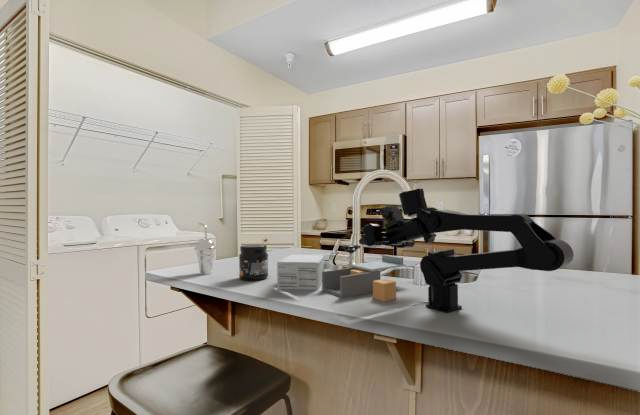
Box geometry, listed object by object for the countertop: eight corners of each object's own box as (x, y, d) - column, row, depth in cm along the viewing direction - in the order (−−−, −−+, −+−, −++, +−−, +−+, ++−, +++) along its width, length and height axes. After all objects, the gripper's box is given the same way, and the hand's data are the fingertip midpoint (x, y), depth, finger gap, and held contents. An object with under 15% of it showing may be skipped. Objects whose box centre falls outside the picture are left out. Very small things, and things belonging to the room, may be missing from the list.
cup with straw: (194, 276, 127) (193, 223, 127) (194, 272, 136) (194, 222, 136) (217, 274, 130) (216, 223, 130) (216, 270, 139) (216, 222, 139)
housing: (380, 292, 101) (380, 271, 101) (342, 300, 93) (342, 277, 93) (359, 286, 109) (358, 266, 109) (322, 292, 101) (322, 271, 101)
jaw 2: (396, 301, 91) (395, 281, 91) (384, 304, 89) (384, 283, 89) (384, 298, 95) (384, 278, 95) (373, 300, 93) (372, 280, 93)
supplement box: (318, 293, 102) (318, 262, 102) (276, 292, 104) (276, 261, 104) (325, 280, 119) (324, 254, 119) (288, 279, 121) (288, 253, 121)
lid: (405, 266, 107) (405, 257, 107) (371, 271, 99) (371, 262, 99) (383, 261, 115) (383, 254, 115) (350, 266, 107) (350, 258, 107)
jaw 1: (370, 288, 102) (370, 270, 102) (359, 291, 100) (359, 272, 100) (361, 286, 106) (361, 268, 106) (350, 288, 104) (350, 270, 104)
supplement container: (239, 276, 127) (239, 244, 127) (268, 274, 129) (267, 243, 129) (238, 282, 117) (237, 247, 117) (268, 280, 119) (268, 246, 119)
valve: (360, 277, 123) (359, 244, 123) (360, 281, 117) (360, 246, 116) (342, 276, 124) (341, 244, 124) (341, 281, 117) (341, 246, 117)
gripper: (424, 206, 101) (385, 220, 113) (382, 199, 90) (344, 215, 101) (432, 242, 98) (391, 252, 109) (389, 239, 87) (349, 251, 98)
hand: (370, 242), depth 105 cm, fingers open, 9 cm apart
